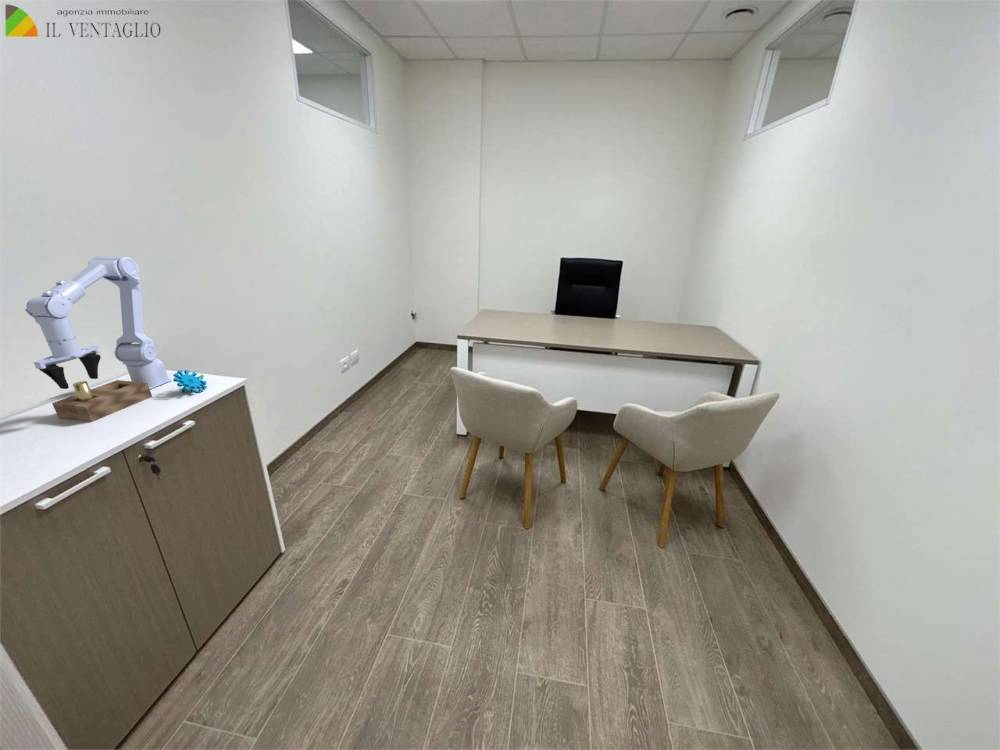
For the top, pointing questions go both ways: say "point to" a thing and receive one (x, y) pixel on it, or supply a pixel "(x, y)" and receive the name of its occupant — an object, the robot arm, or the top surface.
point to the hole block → (103, 401)
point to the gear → (189, 381)
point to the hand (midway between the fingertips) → (79, 383)
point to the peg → (83, 391)
